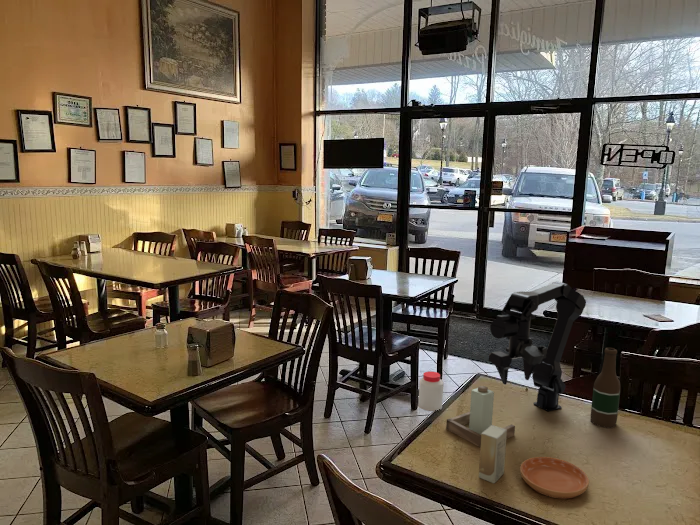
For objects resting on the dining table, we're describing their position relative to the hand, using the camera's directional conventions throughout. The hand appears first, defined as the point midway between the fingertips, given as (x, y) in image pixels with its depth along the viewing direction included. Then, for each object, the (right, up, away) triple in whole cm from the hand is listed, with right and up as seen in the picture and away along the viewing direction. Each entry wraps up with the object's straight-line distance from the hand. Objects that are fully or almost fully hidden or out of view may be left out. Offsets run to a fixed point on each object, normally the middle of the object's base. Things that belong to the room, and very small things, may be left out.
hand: (515, 382), depth 167 cm
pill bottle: (-25, -10, +9) cm, 29 cm away
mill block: (-13, -13, -8) cm, 20 cm away
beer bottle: (+27, -13, 0) cm, 30 cm away
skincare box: (-16, -17, -31) cm, 39 cm away
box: (-13, -13, -8) cm, 20 cm away
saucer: (-1, -18, -34) cm, 38 cm away
